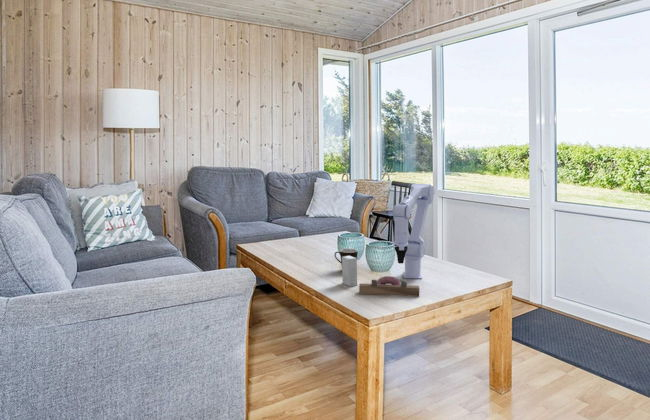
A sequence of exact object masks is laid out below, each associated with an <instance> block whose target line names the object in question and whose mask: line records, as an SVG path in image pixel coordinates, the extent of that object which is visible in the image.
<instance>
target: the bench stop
mask: <svg viewBox="0 0 650 420" xmlns="http://www.w3.org/2000/svg"><path fill="white" fill-rule="evenodd" d="M377 281H378V279H371V283H359V285H358V294H359V295H374V296H375V295H376V296H379V295H380V296H399V297H402V296H403V297H420V285H409V284H407V283H408V281H407V280H401V281H400V285H391V284H377Z"/></svg>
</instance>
